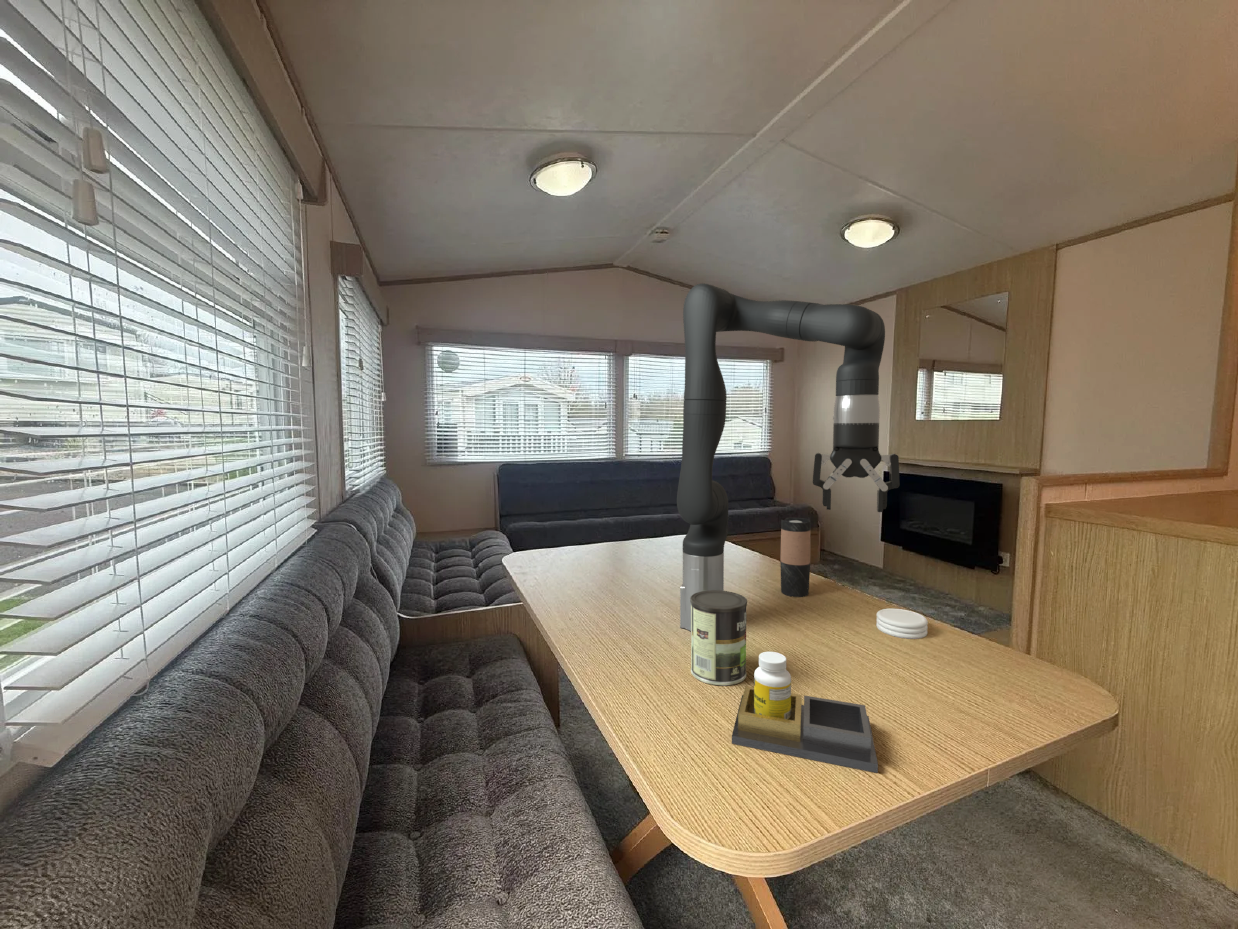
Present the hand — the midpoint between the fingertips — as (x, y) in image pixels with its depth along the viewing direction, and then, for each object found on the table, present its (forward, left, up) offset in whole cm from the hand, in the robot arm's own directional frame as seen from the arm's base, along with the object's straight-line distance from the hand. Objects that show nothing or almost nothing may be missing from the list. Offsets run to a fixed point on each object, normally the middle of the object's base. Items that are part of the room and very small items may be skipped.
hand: (853, 510), depth 95 cm
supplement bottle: (-12, -24, -29) cm, 40 cm away
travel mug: (-11, +43, -30) cm, 54 cm away
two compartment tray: (-8, -24, -30) cm, 39 cm away
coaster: (+12, +24, -31) cm, 41 cm away
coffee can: (-23, -9, -30) cm, 39 cm away
